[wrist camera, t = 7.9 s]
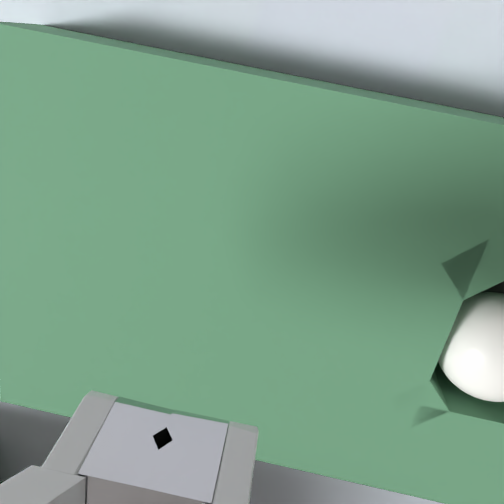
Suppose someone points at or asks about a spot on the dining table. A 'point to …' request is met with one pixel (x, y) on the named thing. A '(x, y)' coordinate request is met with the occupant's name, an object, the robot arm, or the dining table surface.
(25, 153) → the putting mat
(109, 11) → the dining table surface
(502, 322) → the golf ball
